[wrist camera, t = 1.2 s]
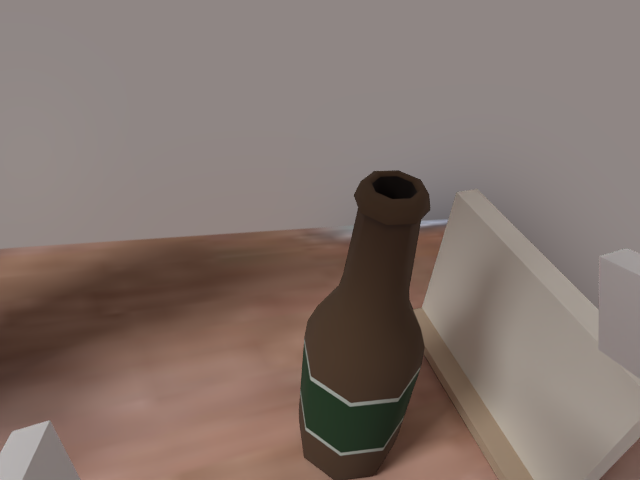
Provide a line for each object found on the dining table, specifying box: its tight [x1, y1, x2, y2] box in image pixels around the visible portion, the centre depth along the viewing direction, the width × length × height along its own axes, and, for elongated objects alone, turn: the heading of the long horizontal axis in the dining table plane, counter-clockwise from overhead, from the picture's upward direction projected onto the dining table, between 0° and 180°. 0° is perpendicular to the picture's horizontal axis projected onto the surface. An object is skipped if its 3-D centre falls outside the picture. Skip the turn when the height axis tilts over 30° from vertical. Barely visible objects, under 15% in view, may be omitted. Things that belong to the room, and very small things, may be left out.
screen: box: [413, 189, 640, 480], centre depth 38 cm, size 20×6×15 cm, turn 19°
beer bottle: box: [299, 171, 430, 480], centre depth 31 cm, size 8×8×24 cm
